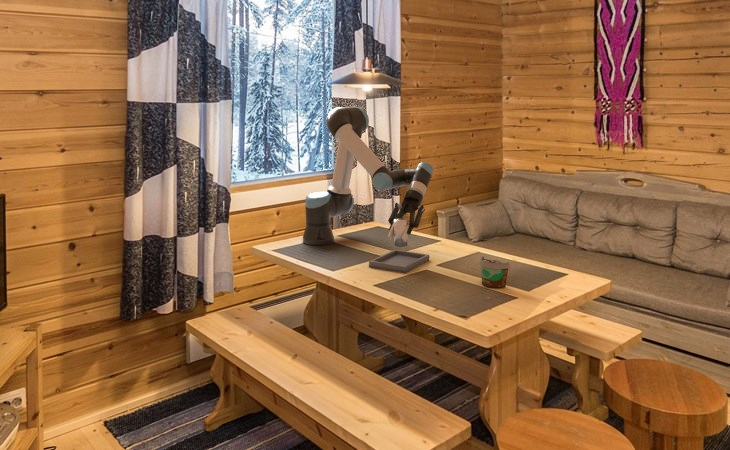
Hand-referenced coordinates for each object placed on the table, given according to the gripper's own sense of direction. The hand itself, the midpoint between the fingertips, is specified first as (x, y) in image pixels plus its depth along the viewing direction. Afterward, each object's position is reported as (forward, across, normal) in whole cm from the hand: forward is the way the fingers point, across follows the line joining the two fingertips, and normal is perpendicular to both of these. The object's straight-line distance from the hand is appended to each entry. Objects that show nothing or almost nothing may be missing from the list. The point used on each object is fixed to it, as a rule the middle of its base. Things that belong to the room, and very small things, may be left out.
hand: (396, 239), depth 260 cm
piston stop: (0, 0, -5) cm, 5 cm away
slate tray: (+6, 0, -11) cm, 12 cm away
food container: (+12, -43, -5) cm, 45 cm away
